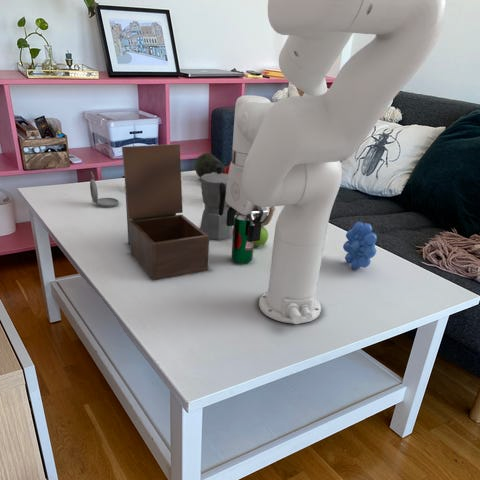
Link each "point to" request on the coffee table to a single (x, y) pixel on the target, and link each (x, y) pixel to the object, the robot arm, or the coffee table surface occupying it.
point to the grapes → (360, 245)
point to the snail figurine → (263, 230)
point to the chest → (168, 246)
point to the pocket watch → (102, 201)
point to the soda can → (241, 240)
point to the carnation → (209, 165)
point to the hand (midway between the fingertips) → (242, 232)
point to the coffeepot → (215, 206)
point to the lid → (152, 180)
